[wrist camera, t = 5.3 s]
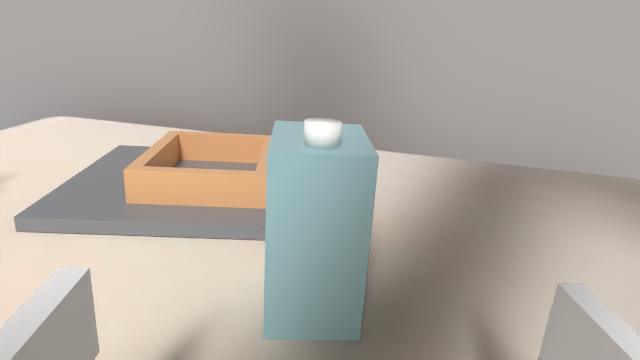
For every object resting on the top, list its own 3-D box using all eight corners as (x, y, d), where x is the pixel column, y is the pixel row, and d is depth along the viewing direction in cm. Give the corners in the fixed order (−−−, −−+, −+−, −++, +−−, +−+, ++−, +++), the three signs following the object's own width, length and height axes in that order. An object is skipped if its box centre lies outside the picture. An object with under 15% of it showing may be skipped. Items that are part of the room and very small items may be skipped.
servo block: (347, 274, 27) (362, 105, 24) (359, 341, 21) (381, 132, 18) (271, 271, 27) (275, 101, 24) (263, 339, 21) (267, 126, 18)
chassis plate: (335, 164, 48) (337, 131, 47) (353, 243, 31) (357, 194, 30) (120, 154, 47) (117, 121, 46) (16, 231, 30) (7, 180, 29)
